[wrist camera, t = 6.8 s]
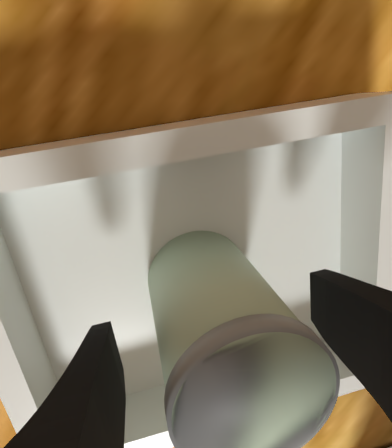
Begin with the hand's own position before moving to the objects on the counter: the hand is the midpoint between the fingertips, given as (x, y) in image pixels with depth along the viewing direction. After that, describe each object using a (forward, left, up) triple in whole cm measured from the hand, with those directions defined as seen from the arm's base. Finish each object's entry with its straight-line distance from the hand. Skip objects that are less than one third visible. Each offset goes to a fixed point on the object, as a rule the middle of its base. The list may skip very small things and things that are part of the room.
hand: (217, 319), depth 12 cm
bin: (0, 0, -4) cm, 4 cm away
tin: (0, 0, -3) cm, 3 cm away
